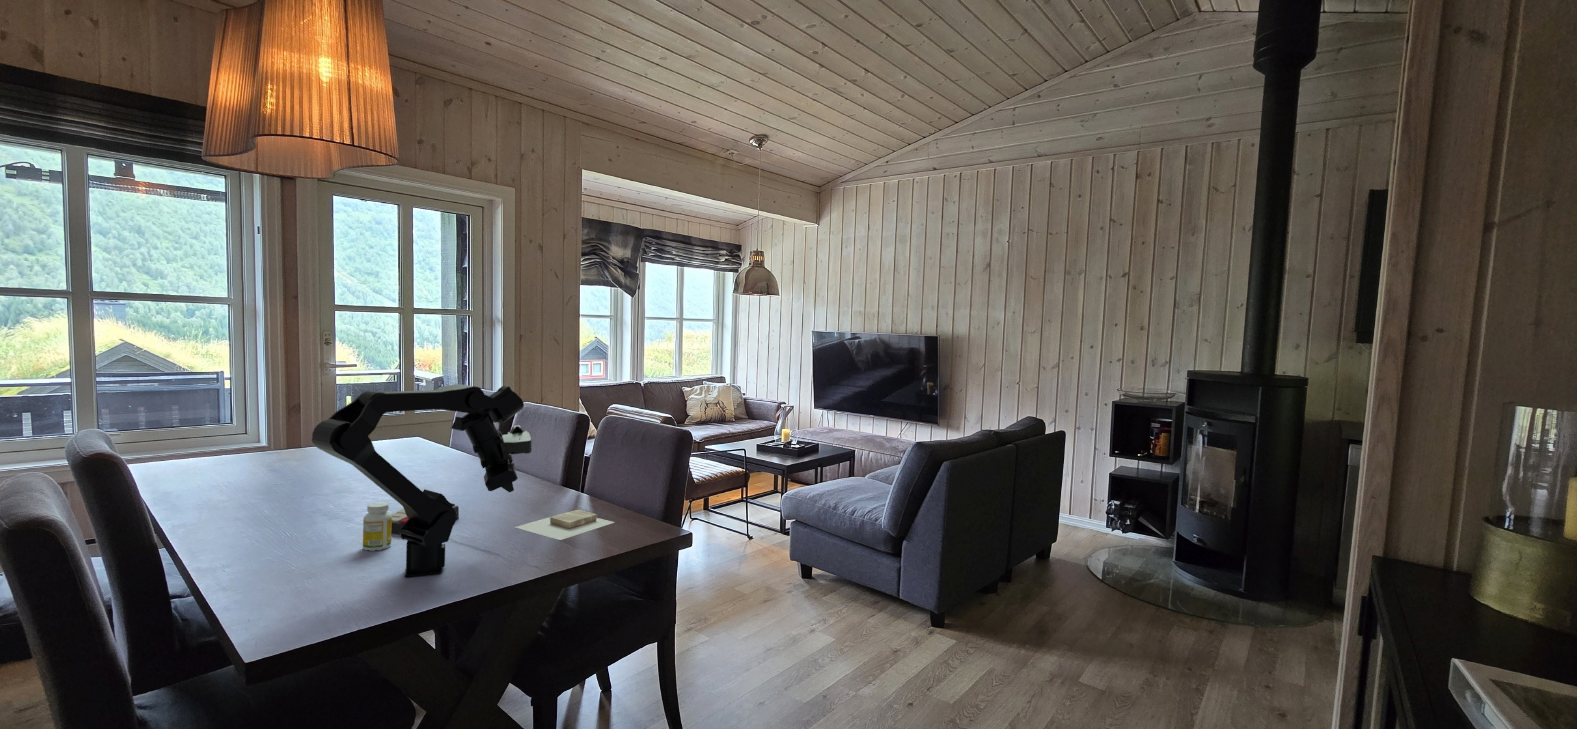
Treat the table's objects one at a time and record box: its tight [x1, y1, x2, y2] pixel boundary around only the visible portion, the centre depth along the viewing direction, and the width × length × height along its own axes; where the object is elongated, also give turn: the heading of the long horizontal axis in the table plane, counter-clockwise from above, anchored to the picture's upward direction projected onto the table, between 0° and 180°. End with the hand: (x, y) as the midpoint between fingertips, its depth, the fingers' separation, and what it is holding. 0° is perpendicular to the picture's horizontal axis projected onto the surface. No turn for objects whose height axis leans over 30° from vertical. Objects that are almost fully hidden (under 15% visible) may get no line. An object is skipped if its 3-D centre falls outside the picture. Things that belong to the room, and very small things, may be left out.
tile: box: [550, 509, 598, 529], centre depth 169 cm, size 2×7×9 cm
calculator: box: [391, 504, 460, 536], centre depth 163 cm, size 11×4×15 cm
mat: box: [514, 511, 615, 541], centre depth 167 cm, size 18×16×1 cm
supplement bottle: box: [362, 501, 392, 552], centre depth 146 cm, size 5×5×10 cm
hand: (511, 490), depth 152 cm, fingers closed
